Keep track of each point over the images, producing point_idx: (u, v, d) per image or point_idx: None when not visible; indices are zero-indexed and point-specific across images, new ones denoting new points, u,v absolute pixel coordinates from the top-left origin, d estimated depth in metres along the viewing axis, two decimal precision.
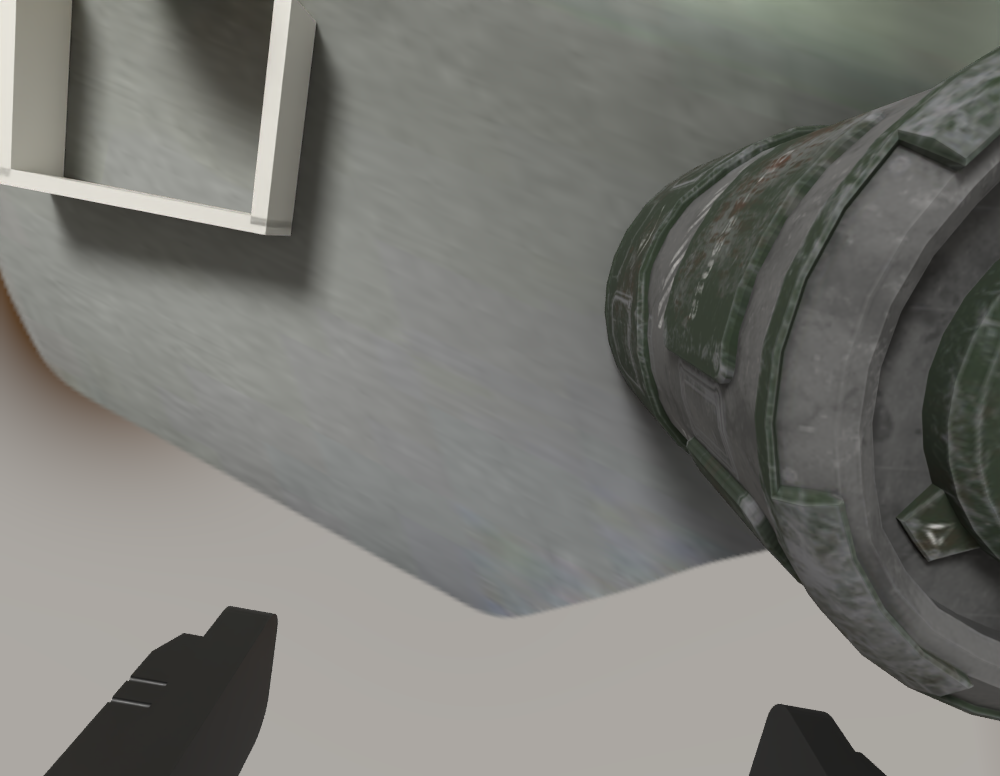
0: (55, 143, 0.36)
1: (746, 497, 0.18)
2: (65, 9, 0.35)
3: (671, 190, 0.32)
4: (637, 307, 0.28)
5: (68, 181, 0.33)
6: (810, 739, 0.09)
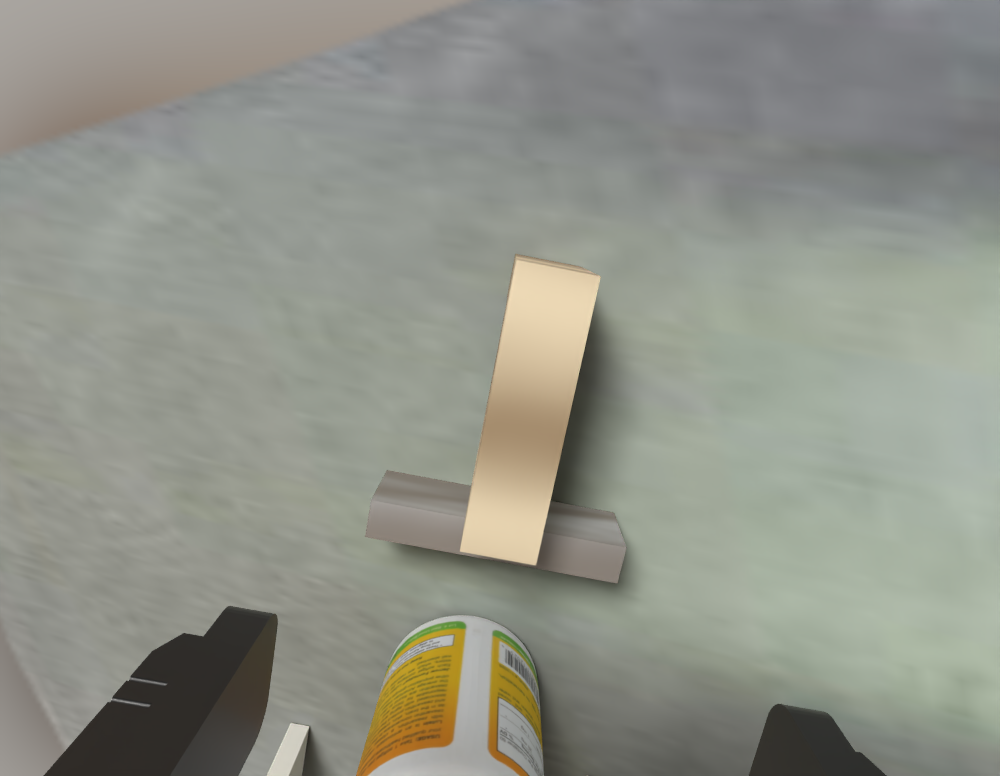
0: None
1: None
2: (300, 773, 0.28)
3: None
4: None
5: None
6: (810, 739, 0.09)
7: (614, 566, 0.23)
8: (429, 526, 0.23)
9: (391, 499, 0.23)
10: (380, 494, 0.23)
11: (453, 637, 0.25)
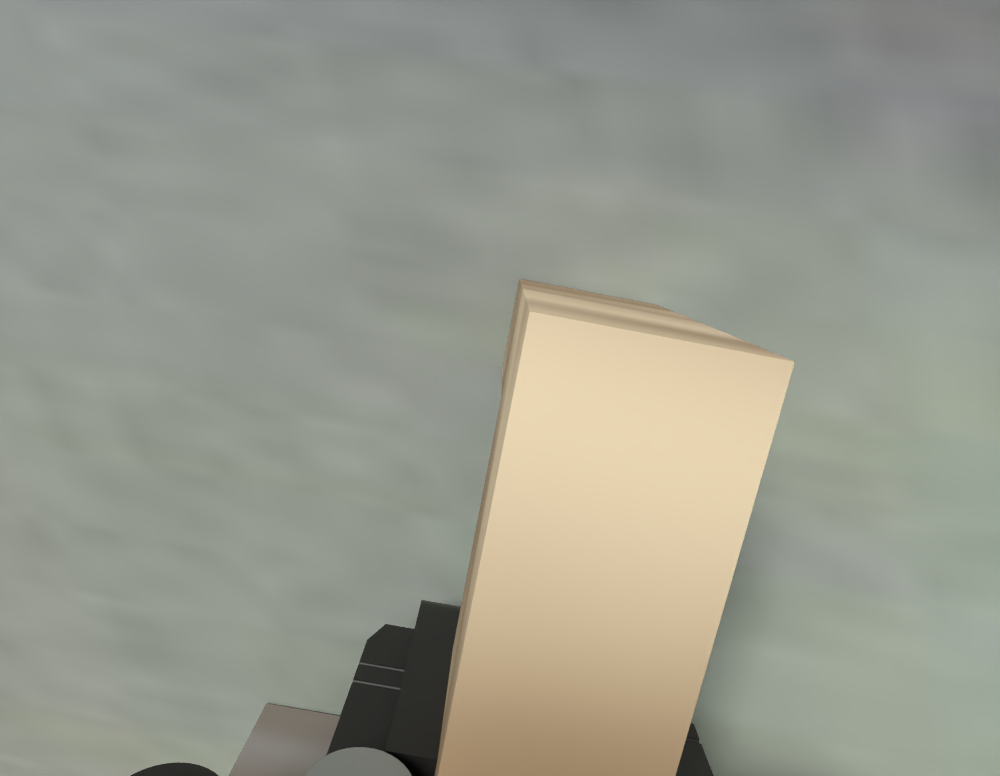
0: None
1: None
2: None
3: None
4: None
5: None
6: None
7: None
8: None
9: None
10: None
11: None
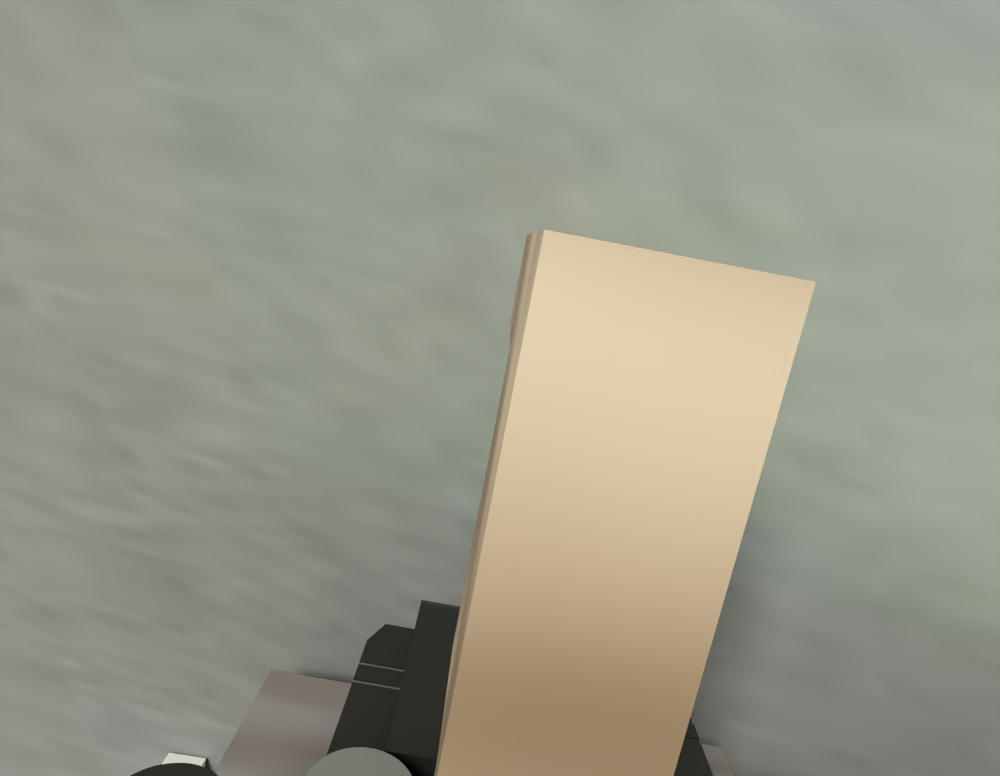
0: None
1: None
2: None
3: None
4: None
5: None
6: None
7: None
8: None
9: None
10: (231, 767, 0.11)
11: None
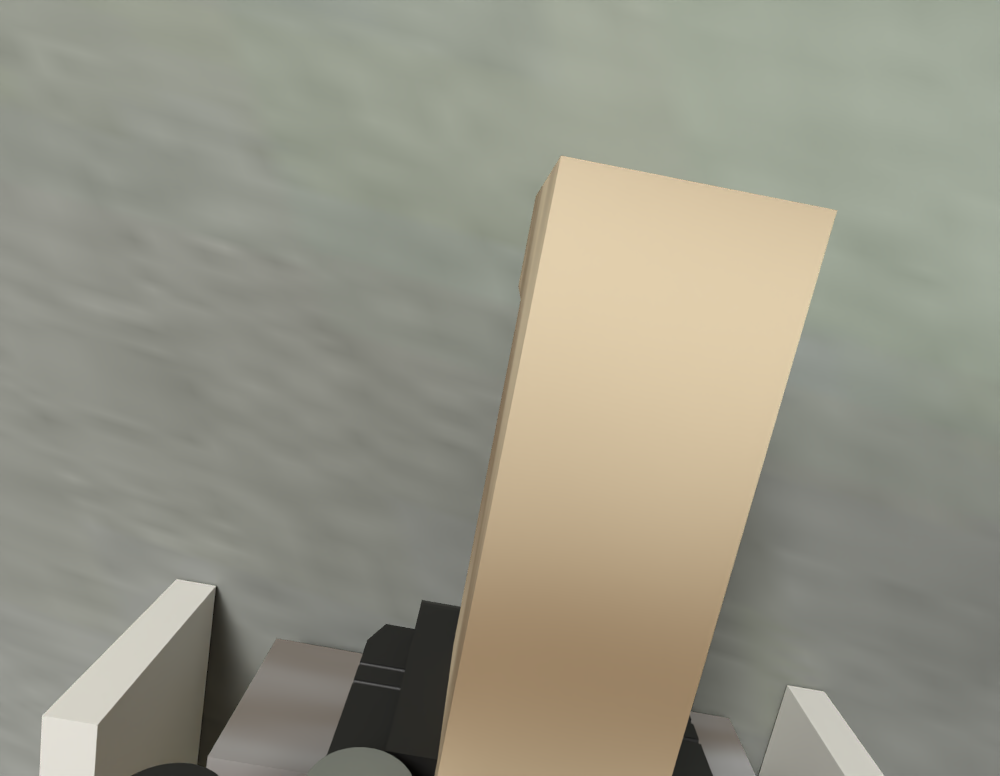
0: None
1: None
2: (196, 684, 0.13)
3: None
4: None
5: None
6: None
7: None
8: None
9: (260, 746, 0.10)
10: (237, 730, 0.10)
11: None
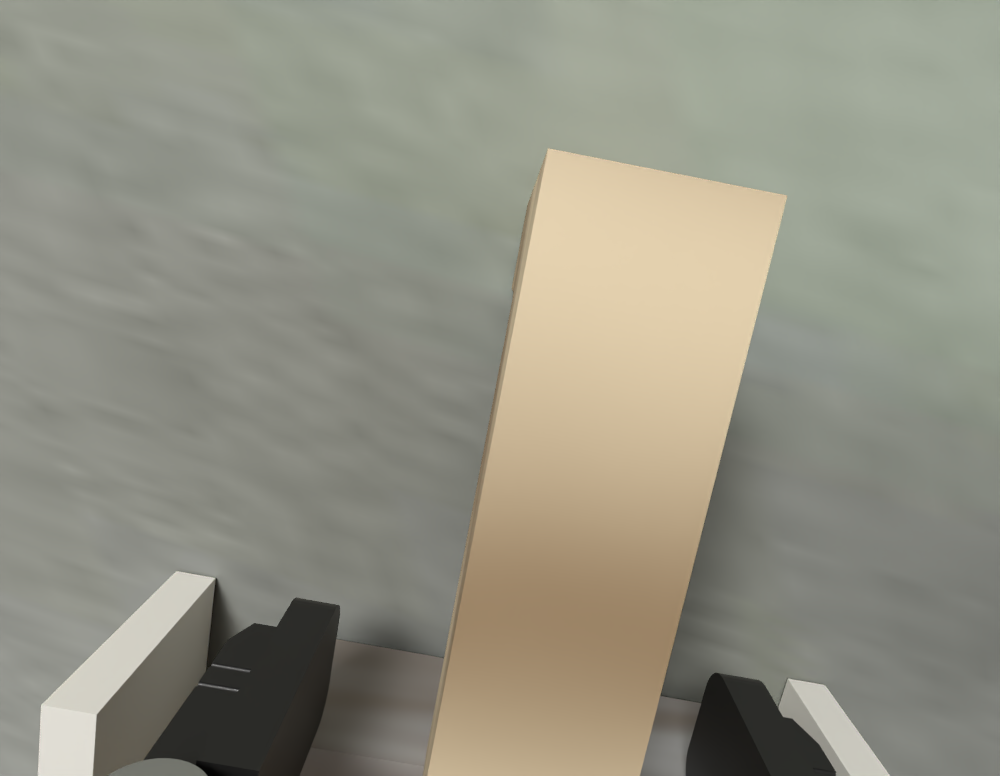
0: None
1: None
2: (195, 676, 0.13)
3: None
4: None
5: None
6: (740, 704, 0.10)
7: None
8: None
9: None
10: None
11: None
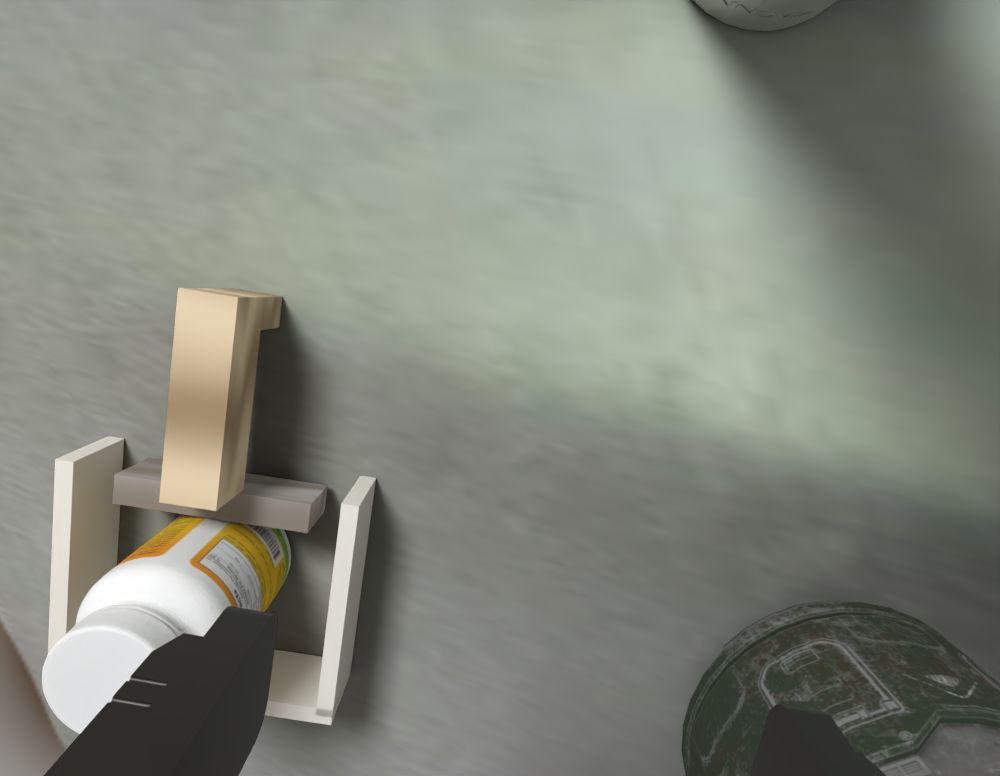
0: None
1: None
2: None
3: (760, 691, 0.30)
4: None
5: None
6: (810, 739, 0.09)
7: (303, 519, 0.31)
8: (160, 493, 0.30)
9: (133, 474, 0.31)
10: (126, 471, 0.31)
11: None
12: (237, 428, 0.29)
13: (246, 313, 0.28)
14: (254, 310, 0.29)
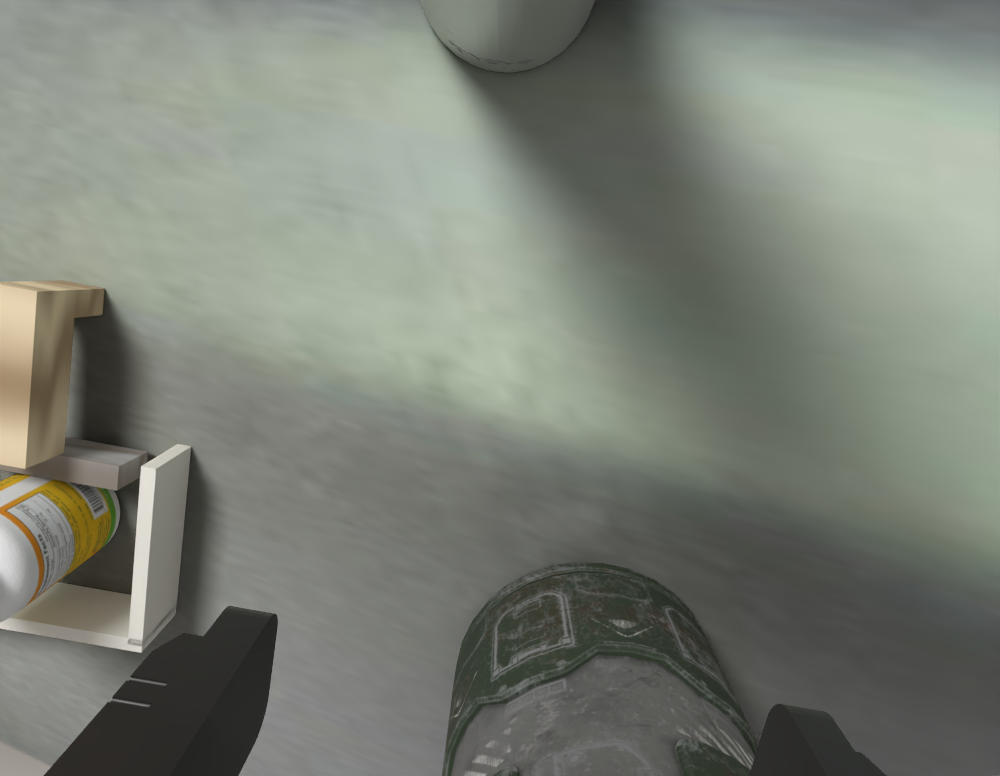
0: None
1: None
2: None
3: (493, 632, 0.36)
4: None
5: None
6: (810, 739, 0.09)
7: (113, 479, 0.36)
8: None
9: None
10: None
11: None
12: (49, 400, 0.34)
13: (51, 304, 0.33)
14: (62, 301, 0.34)
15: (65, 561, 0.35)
